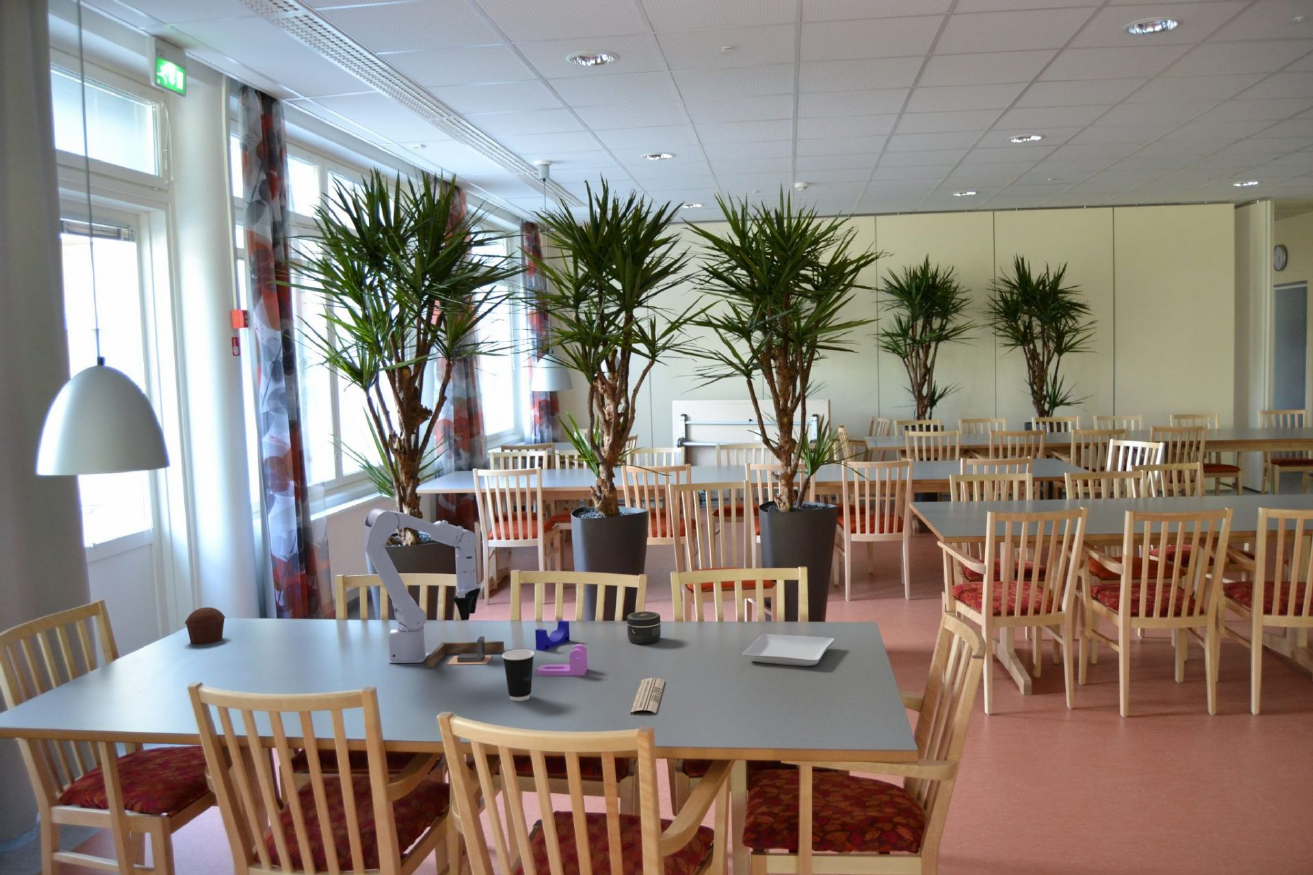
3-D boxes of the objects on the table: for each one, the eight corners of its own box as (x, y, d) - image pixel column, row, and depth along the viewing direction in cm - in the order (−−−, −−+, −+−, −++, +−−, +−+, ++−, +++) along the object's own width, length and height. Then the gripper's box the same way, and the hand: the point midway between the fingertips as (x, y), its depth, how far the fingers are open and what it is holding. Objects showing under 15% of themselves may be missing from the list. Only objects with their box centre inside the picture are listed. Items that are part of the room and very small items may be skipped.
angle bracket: (485, 657, 275) (484, 636, 275) (482, 661, 271) (481, 640, 271) (460, 657, 276) (459, 636, 275) (457, 661, 272) (456, 640, 271)
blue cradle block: (557, 639, 293) (557, 619, 293) (569, 641, 291) (568, 621, 290) (532, 649, 283) (531, 629, 283) (544, 651, 281) (543, 631, 280)
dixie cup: (537, 701, 238) (536, 656, 237) (505, 704, 236) (503, 659, 235) (534, 690, 246) (532, 647, 245) (502, 694, 244) (500, 650, 243)
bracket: (587, 669, 262) (586, 643, 262) (584, 675, 257) (583, 649, 256) (539, 669, 264) (538, 644, 263) (535, 676, 258) (534, 650, 258)
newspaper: (641, 684, 250) (641, 677, 250) (669, 684, 250) (668, 677, 249) (630, 717, 227) (630, 709, 227) (660, 717, 226) (660, 709, 226)
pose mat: (447, 664, 270) (447, 664, 270) (454, 656, 278) (454, 655, 278) (486, 664, 269) (486, 663, 269) (492, 655, 277) (492, 655, 277)
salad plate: (741, 665, 263) (740, 652, 263) (762, 643, 282) (762, 632, 282) (818, 672, 255) (818, 659, 255) (835, 649, 274) (835, 637, 274)
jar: (620, 642, 287) (619, 617, 286) (640, 634, 295) (639, 609, 295) (648, 647, 281) (647, 621, 281) (667, 638, 290) (667, 613, 289)
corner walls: (428, 668, 267) (427, 657, 267) (442, 652, 282) (441, 642, 282) (493, 667, 266) (492, 656, 266) (504, 651, 281) (503, 641, 281)
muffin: (201, 635, 310) (199, 604, 309) (233, 635, 309) (231, 604, 308) (178, 645, 298) (176, 613, 298) (211, 645, 297) (209, 613, 296)
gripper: (474, 575, 277) (476, 622, 278) (485, 565, 291) (487, 610, 292) (449, 576, 277) (451, 623, 278) (461, 565, 291) (463, 610, 292)
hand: (468, 616), depth 285 cm, fingers open, 7 cm apart
